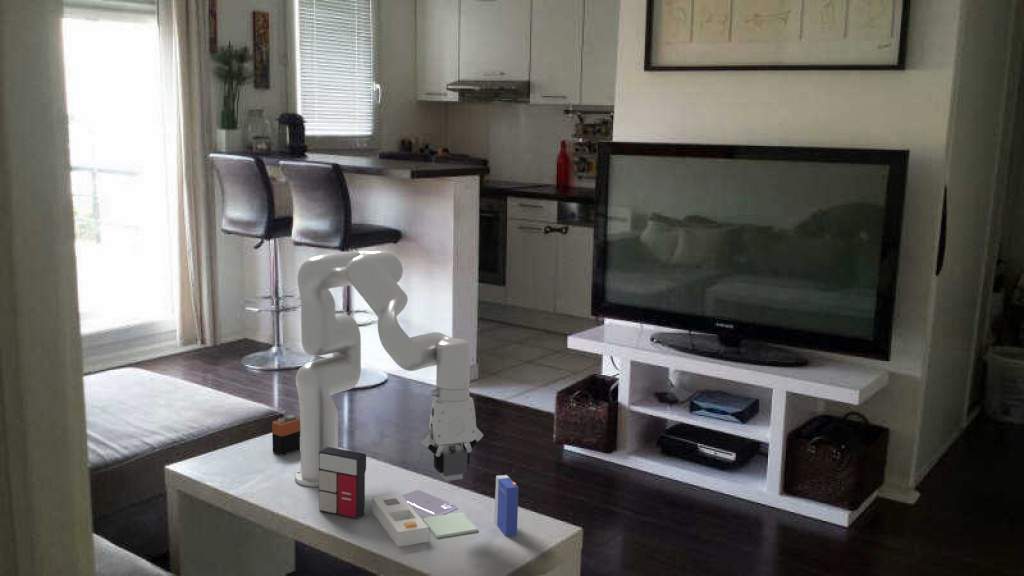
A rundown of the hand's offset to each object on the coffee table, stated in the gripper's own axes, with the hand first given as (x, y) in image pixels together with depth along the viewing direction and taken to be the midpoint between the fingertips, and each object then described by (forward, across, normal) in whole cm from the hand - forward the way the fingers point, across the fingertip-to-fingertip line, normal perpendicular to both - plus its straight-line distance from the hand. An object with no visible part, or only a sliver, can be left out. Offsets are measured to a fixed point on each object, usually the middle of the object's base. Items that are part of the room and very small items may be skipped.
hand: (451, 468), depth 210 cm
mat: (+14, 0, 0) cm, 14 cm away
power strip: (+14, -11, +4) cm, 18 cm away
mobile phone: (+15, -1, +14) cm, 20 cm away
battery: (+14, -26, +62) cm, 69 cm away
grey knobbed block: (+2, 0, 0) cm, 2 cm away
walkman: (+14, +11, -6) cm, 19 cm away
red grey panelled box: (+14, -22, +16) cm, 31 cm away
